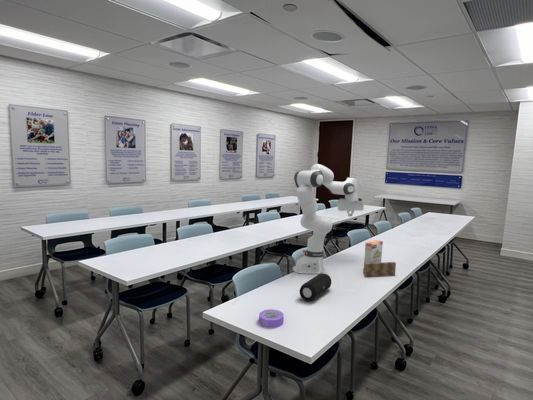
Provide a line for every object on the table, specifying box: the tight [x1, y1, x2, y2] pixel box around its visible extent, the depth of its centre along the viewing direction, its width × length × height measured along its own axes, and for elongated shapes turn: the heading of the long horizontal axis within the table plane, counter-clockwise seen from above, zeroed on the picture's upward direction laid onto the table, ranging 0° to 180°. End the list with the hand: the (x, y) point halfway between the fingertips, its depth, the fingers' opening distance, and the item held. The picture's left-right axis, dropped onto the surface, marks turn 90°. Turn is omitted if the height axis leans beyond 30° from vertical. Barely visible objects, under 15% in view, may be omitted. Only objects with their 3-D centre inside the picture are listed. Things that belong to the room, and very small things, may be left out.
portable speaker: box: [299, 272, 332, 302], centre depth 196 cm, size 26×10×10 cm, turn 146°
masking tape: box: [258, 308, 285, 329], centre depth 162 cm, size 12×12×4 cm
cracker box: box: [363, 239, 384, 269], centre depth 243 cm, size 14×6×21 cm, turn 131°
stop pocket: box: [363, 261, 397, 278], centre depth 233 cm, size 22×7×9 cm, turn 101°
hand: (350, 216), depth 262 cm, fingers closed
